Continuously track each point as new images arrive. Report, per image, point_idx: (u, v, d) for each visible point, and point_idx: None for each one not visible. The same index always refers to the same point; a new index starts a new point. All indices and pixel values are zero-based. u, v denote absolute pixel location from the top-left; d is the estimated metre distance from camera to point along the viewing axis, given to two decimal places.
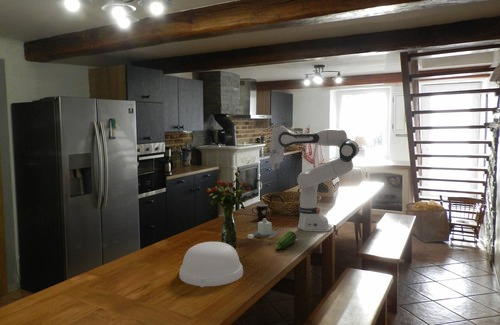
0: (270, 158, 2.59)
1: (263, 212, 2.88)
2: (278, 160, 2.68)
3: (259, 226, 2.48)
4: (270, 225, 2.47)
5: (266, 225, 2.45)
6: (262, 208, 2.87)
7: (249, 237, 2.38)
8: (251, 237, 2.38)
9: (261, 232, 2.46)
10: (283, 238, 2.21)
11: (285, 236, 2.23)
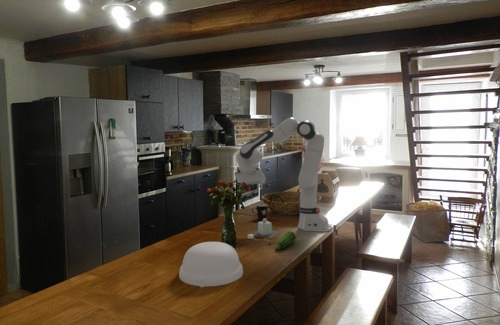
0: (237, 180, 2.58)
1: (263, 212, 2.88)
2: (253, 179, 2.60)
3: (259, 226, 2.48)
4: (270, 225, 2.47)
5: (266, 225, 2.45)
6: (262, 208, 2.87)
7: (249, 237, 2.38)
8: (251, 237, 2.38)
9: (261, 232, 2.46)
10: (283, 238, 2.21)
11: (285, 236, 2.23)
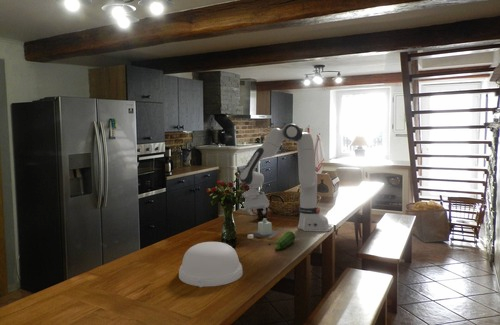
0: (240, 205, 2.56)
1: None
2: (257, 203, 2.58)
3: (259, 226, 2.48)
4: (270, 225, 2.47)
5: (266, 225, 2.45)
6: (262, 208, 2.87)
7: (249, 237, 2.38)
8: (251, 237, 2.38)
9: (261, 232, 2.46)
10: (282, 238, 2.21)
11: (284, 236, 2.23)
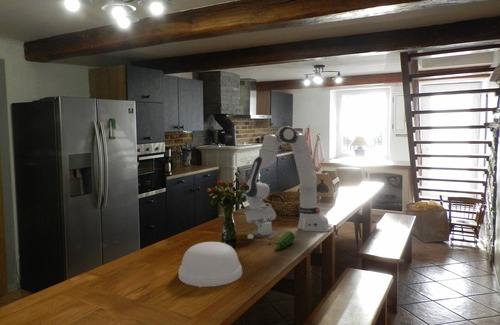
0: (246, 217, 2.49)
1: None
2: (263, 216, 2.51)
3: None
4: (270, 225, 2.47)
5: (266, 225, 2.45)
6: None
7: (249, 237, 2.38)
8: (251, 237, 2.38)
9: (261, 232, 2.46)
10: (282, 238, 2.20)
11: (284, 236, 2.23)
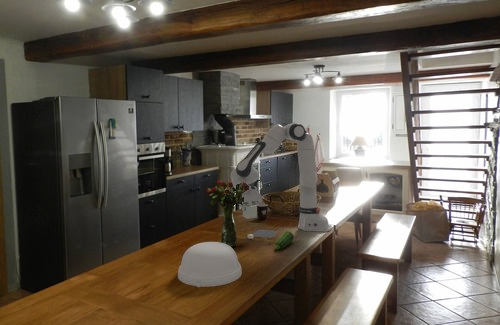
0: None
1: (263, 212, 2.88)
2: (248, 199, 2.41)
3: None
4: (255, 208, 2.37)
5: (251, 208, 2.35)
6: (262, 208, 2.87)
7: (249, 237, 2.38)
8: (251, 237, 2.38)
9: (246, 215, 2.36)
10: (281, 238, 2.20)
11: (283, 236, 2.23)
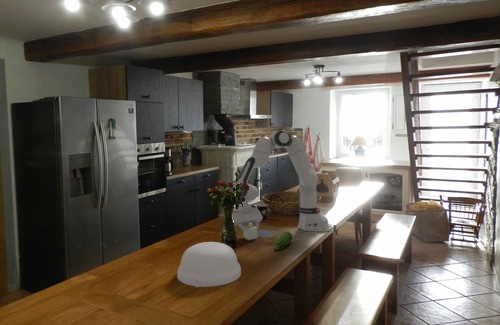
0: None
1: (263, 212, 2.88)
2: (249, 218, 2.41)
3: (244, 231, 2.39)
4: (256, 230, 2.37)
5: (251, 230, 2.36)
6: (262, 208, 2.87)
7: None
8: None
9: (246, 237, 2.37)
10: (281, 238, 2.20)
11: (282, 236, 2.22)
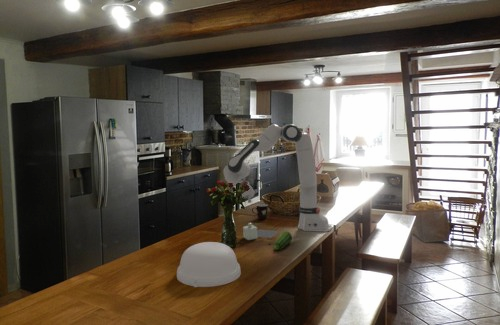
0: None
1: (263, 212, 2.88)
2: None
3: (244, 231, 2.39)
4: (255, 230, 2.37)
5: (251, 230, 2.36)
6: (262, 208, 2.87)
7: None
8: None
9: (246, 237, 2.37)
10: (280, 238, 2.20)
11: (282, 236, 2.22)
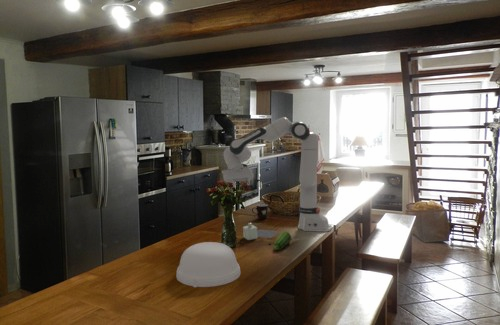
0: (223, 177, 2.49)
1: (263, 212, 2.88)
2: (240, 175, 2.51)
3: (244, 231, 2.39)
4: (255, 230, 2.37)
5: (251, 230, 2.36)
6: (262, 208, 2.87)
7: None
8: None
9: (246, 237, 2.37)
10: (280, 239, 2.20)
11: (281, 236, 2.22)
